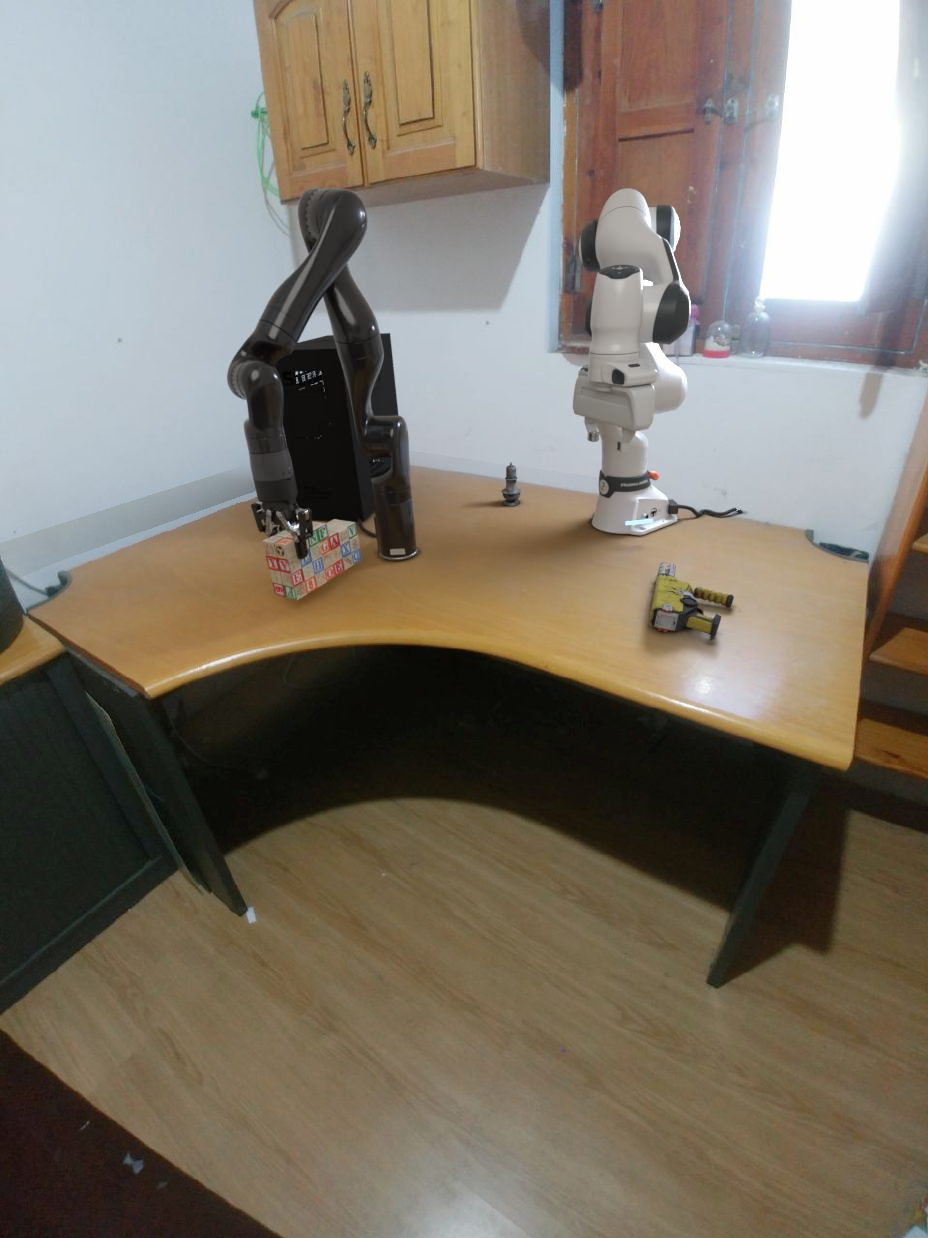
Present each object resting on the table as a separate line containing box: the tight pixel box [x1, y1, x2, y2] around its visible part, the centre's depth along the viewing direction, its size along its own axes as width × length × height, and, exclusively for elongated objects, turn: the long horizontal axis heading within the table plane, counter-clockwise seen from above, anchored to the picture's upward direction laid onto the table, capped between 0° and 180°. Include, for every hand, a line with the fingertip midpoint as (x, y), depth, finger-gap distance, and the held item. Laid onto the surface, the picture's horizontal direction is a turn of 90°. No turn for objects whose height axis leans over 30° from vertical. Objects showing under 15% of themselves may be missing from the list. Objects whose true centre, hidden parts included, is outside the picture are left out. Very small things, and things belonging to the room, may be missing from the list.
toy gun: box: [648, 561, 735, 640], centre depth 118 cm, size 5×24×15 cm
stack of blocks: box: [262, 519, 363, 601], centre depth 128 cm, size 21×6×12 cm, turn 150°
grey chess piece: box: [501, 462, 522, 507], centre depth 175 cm, size 6×6×12 cm
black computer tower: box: [275, 332, 400, 522], centre depth 177 cm, size 38×20×45 cm, turn 167°
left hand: (290, 554), depth 122 cm, fingers closed on stack of blocks, 6 cm apart
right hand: (607, 445), depth 116 cm, fingers open, 8 cm apart
